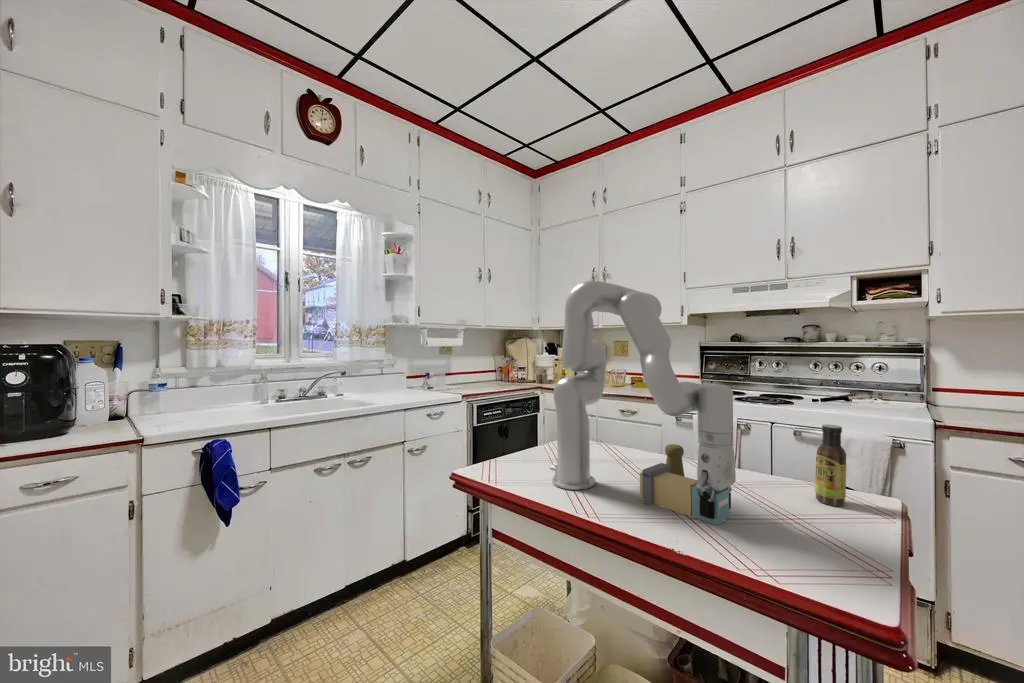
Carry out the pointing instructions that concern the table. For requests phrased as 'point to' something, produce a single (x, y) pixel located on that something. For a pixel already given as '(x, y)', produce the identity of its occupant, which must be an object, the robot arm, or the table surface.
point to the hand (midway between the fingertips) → (715, 511)
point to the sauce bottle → (831, 468)
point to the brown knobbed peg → (675, 459)
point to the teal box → (720, 505)
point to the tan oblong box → (666, 488)
